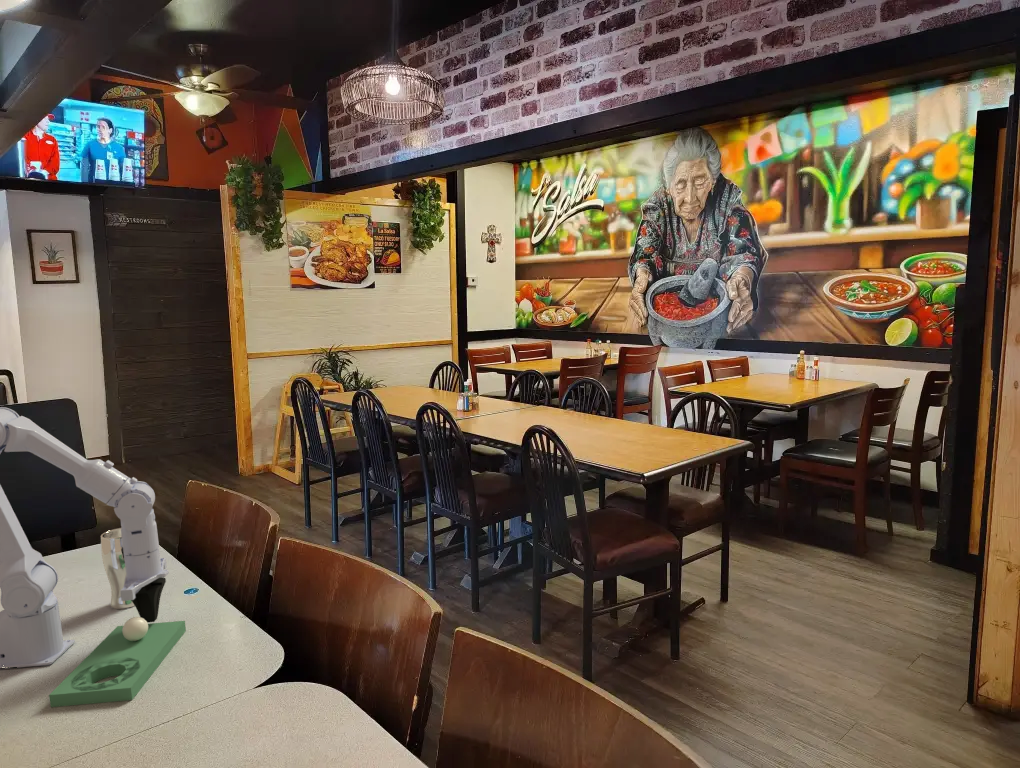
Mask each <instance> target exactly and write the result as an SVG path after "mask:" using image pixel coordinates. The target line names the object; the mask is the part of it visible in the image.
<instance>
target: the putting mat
mask: <svg viewBox="0 0 1020 768" xmlns="http://www.w3.org/2000/svg"><path fill="white" fill-rule="evenodd" d="M123 626H124V625H117V626H116V627H115V628H114V629H112V631H111V632H110V633H109V634H108V635H107V636H106V637H105V638H104V639H103V640H102V641H101V642H100V643H99V644H98V645H97V646H96V647H95V648H94V649H93V651H91V652H90V653H89V654H88V655H87V656H86V657H85V658H84V659H83V661H81V662H80V663H79V664H78V665H77V666H76V667H75V668H74V669H73V671H71V672H70V673H69V675H67V676H65V678H64V679H63V680H62V682H60V683H59V685H57V686H56V687H55V688H54V689H53V691H52V692H50V693H49V695H48V698H49V703H50V704H49V705H50V708H59V707H67V706H79V705H90V704H104V703H112V702H113V703H114V702H123V701H133V700H134V699H135V697H136V696H137V694H138V693H139V692H140V691H141V690H142V688H143V687H144V685H146V683H147V681H148V680H149V679H150V678H151V677H152V675H153V674H154V672H155V671H156V670H157V669H158V668H159V666H160V665H161V664H162V663H163V661H164V660H165V659H166V657H167V656H168V654H169V653H170V652H171V651H172V650H173V648H174V647H175V646H176V644H178V643H179V640H180V639H181V638H182V636H183V635H184V634H185V633H186V632H187V627H186V620H178V621H176V620H175V621H167V622H166V621H164V622H149V623H148V631H147V633H146V635H145V636H144V637H143V638H141V639H140V640H137V641H130V640H127V639H126V638H125V637H124V635H123V632H122V630H123ZM177 642H178V643H177ZM116 676H117V677H116ZM109 677H115V678H113V679H109V680H107V681H104V682H99V681H100V680H103V679H107V678H109Z"/></svg>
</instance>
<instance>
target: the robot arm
mask: <svg viewBox="0 0 1020 768" xmlns="http://www.w3.org/2000/svg"><path fill="white" fill-rule="evenodd" d="M3 450H4V451H3ZM2 452H5V453H10V452H11V453H12V452H15V453H16V452H17V453H18V452H29V453H31V454H33V455H34V456H37V457H39V458H40V459H42V460H44V461H46V462H48V463H50V464H52V465H53V466H55V467H56V468H58V469H61V470H63V471H65V472H66V473H68V474H70V475H71V476H73V478H74V481H75V486H76V488H78V489H80V490H82V491H83V492H85V493H87V494H89V495H91V496H92V497H93V498H95V499H97V500H98V501H100V502H102V503H103V504H105V505H107V506H109V507H112V508H113V510H114V511H113V512H114V514H115V515H116V517H117V518H118V519H119V520H120V526H121V527H120V528H121V536H122V544H123V552H124V561H125V569H126V577H125V581H124V586H123V588H122V589H121V590H120V593H121V601H127V600H131V601H132V602H133V604H134V605H135V606H134V607H135V608H136V610H137V613H138V615H139V617H141V618H144V619H145V620H146V621H147V623H148V624H149V623H155V622H156V621H157V619H158V615H159V608H160V602H161V601H160V600H161V597H162V592H163V590H164V588H165V587H164V586H165V585H166V583H167V580H166V579H167V578H166V576H168V575H169V574H170V573H169V569H167V566H168V565H167V558H166V557H161V552H160V543H159V535H158V526H157V521H156V515H155V511H154V508H153V507H154V504H155V502H156V494H155V491H154V489H153V488H152V487H151V486H150V485H149V483H147V482H145V481H139V480H138V479H137V478H136V477H134V476H133V477H129V476H127V475H126V474H125V473H123V472H121V471H119V470H118V469H116V468H115V467H114V466H115V464H114V462H112V461H111V460H109V459H108V460H106V461H103V460H102V459H98V458H97V459H86V458H85V457H84V456H83V455H81V454H79V453H78V452H76V451H75V450H73V449H72V448H71V447H69V446H68V445H67V444H65V443H63V442H62V441H61V440H59V439H57V438H56V437H55V436H53V435H52V434H51V433H49V432H47V431H46V430H45V429H44V428H41V427H40V426H39V425H38V424H36V423H35V422H33V420H31V419H30V418H28V417H25V416H23V415H21V416H20V415H19V414H18V413H17V411H15V410H13V409H11V408H8V407H3V406H1V407H0V455H1V453H2ZM58 582H59V573H58V572H57V570H56V568H55V567H54V566H53V565H52V564H50V563H48V562H47V561H46V560H45V559H44V557H43V555H42V553H41V552H39V551H37V550H35V549H34V548H33V547H32V545H31V544H30V542H29V539H28V537H27V535H26V533H25V531H24V530H23V527H22V526H21V523H20V521H19V519H18V517H17V515H16V513H15V512H14V510H13V508H12V505H11V503H10V501H9V499H8V497H7V495H6V494H5V491H4V489H3V487H2V485H1V484H0V604H1V607H2V608H3V610H1V611H0V668H2V667H5V669H7V668H6V667H9V668H8V669H11V668H10V667H17V668H27V667H29V668H30V667H39V666H50V665H53V663H55V661H56V660H57V659H58V658H60V657H61V656H62V655H63V654H64V653H65V652H66V651H67V650H68V649H69V648H70V647H71V646H73V644H75V643H76V640H75V639H68V640H67V639H64V636H63V630H62V629H63V628H62V622H61V614H60V607H59V600H58V597H57V596H56V595H55V594H54V591H53V590H54V589H55V587H56V586H57V584H58ZM3 665H4V666H3Z"/></svg>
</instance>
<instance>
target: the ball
mask: <svg viewBox="0 0 1020 768" xmlns="http://www.w3.org/2000/svg"><path fill="white" fill-rule="evenodd" d="M148 624H149V622H148V623H147V621H146V620H145V619H144V618H141V617H140V616H133V617H131V618H129V619H128V620H127V621H125V623H124V624H123V625H122V626H123V630H122V632H123V635H124V637H125V638H126V639H127V640H130V641H137V640H140V639H141V638H143V637H144V636H145V635H146V633H147V631H148Z"/></svg>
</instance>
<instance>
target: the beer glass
mask: <svg viewBox="0 0 1020 768" xmlns="http://www.w3.org/2000/svg"><path fill="white" fill-rule="evenodd" d="M100 547H101V549H100V551H101V559H102V564H103V567H104V571H105V573H106V576H107V577H106V578H107V579H108V582H109V585H110V590H111V591H110V593H111V596H110V606H111V609H115V610H124V609H129V608H132V607H135V605H134V604H133V602H132V601H131V600H127V601H121V593H120V590H121V589H122V588H123V586H124V581H125V577H126V569H125V561H124V552H123V544H122V536H121V527H119V528H114V529H111V530H108V531H105V532H103V533H102V534H101V535H100Z"/></svg>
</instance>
